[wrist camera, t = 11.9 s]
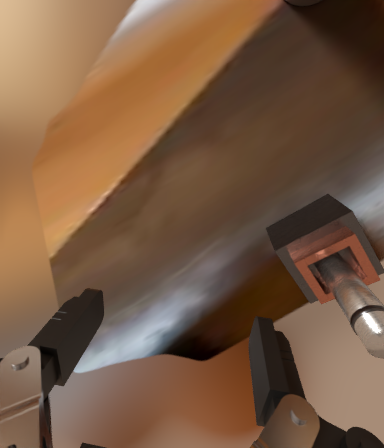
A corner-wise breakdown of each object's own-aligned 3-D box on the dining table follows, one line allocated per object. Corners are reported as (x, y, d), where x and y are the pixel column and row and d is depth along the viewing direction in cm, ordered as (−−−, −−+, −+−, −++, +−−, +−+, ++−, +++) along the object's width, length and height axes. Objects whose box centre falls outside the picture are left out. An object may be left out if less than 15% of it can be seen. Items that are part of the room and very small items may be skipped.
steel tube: (335, 245, 33) (402, 321, 20) (347, 265, 34) (420, 350, 21) (309, 258, 34) (357, 337, 22) (321, 277, 35) (375, 364, 22)
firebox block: (327, 193, 38) (362, 218, 29) (356, 245, 41) (396, 283, 32) (266, 228, 42) (278, 260, 32) (296, 273, 45) (316, 315, 35)
